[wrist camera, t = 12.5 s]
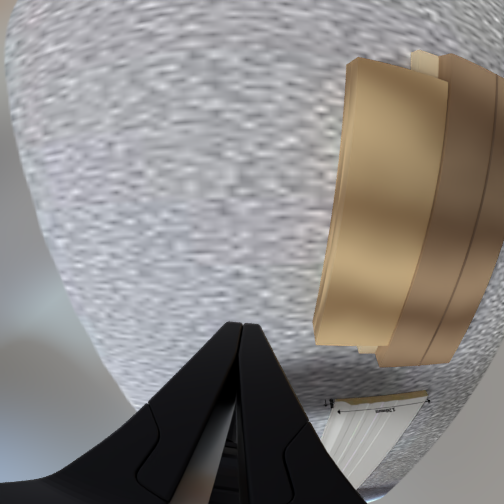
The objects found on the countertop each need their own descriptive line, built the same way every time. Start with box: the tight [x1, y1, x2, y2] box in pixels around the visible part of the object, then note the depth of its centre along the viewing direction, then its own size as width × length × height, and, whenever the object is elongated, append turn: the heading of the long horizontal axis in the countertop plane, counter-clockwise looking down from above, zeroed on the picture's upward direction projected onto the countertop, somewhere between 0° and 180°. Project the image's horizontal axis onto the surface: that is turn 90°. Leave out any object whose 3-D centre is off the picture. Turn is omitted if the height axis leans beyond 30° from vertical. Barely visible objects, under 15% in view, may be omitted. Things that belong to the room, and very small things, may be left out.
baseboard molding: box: [321, 390, 430, 490], centre depth 32 cm, size 31×3×12 cm
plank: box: [313, 57, 448, 346], centre depth 17 cm, size 18×6×3 cm, turn 177°
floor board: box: [357, 50, 504, 367], centre depth 17 cm, size 22×8×3 cm, turn 177°
